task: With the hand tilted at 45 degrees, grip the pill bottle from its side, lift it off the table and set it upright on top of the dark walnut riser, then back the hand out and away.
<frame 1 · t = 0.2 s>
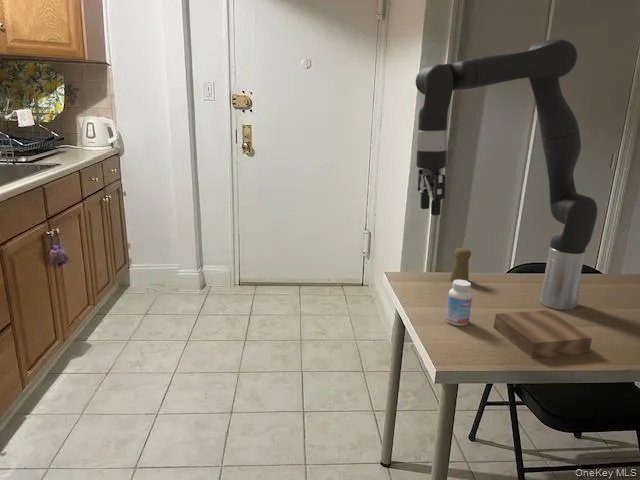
hand: (429, 211, 132), 29 cm above the table, tool pointing down, fingers open, 8 cm apart
walnut riser: (539, 339, 129), on the table
cork: (458, 281, 167), on the table
pill bottle: (456, 322, 137), on the table
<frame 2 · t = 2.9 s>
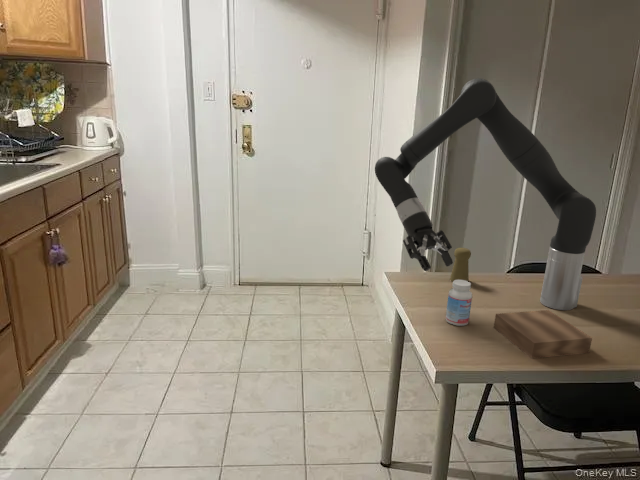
hand: (439, 267, 140), 13 cm above the table, tool tilted 45°, fingers open, 8 cm apart
nothing on the table moved.
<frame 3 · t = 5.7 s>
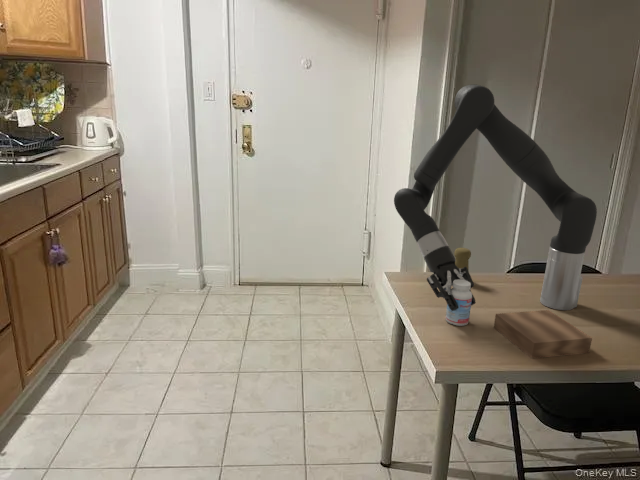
hand: (464, 306, 134), 5 cm above the table, tool tilted 45°, fingers closed on pill bottle, 6 cm apart
pill bottle: (456, 322, 137), on the table, touching gripper
everything else where it was.
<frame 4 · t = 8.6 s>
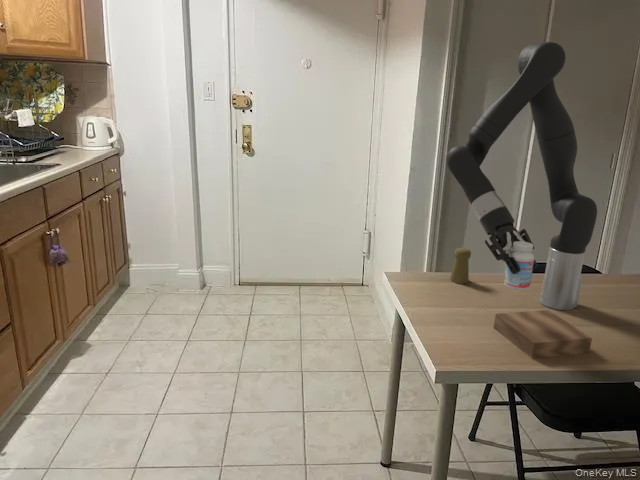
hand: (525, 270, 125), 18 cm above the table, tool tilted 45°, fingers closed on pill bottle, 6 cm apart
pill bottle: (516, 287, 128), point 13 cm above the table, touching gripper
everything else where it was.
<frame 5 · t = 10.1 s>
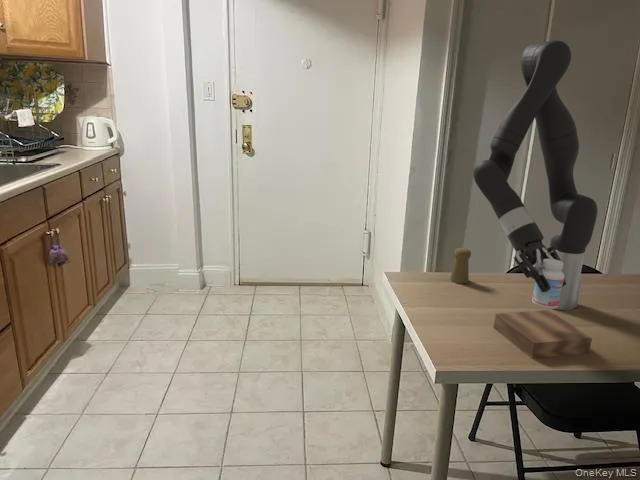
hand: (554, 288, 123), 15 cm above the table, tool tilted 45°, fingers closed on pill bottle, 6 cm apart
pill bottle: (544, 305, 126), point 9 cm above the table, touching gripper
everything else where it was.
when the fingers open (10 cm above the table, at t = 11.5 s): pill bottle drops 1 cm, resting on walnut riser.
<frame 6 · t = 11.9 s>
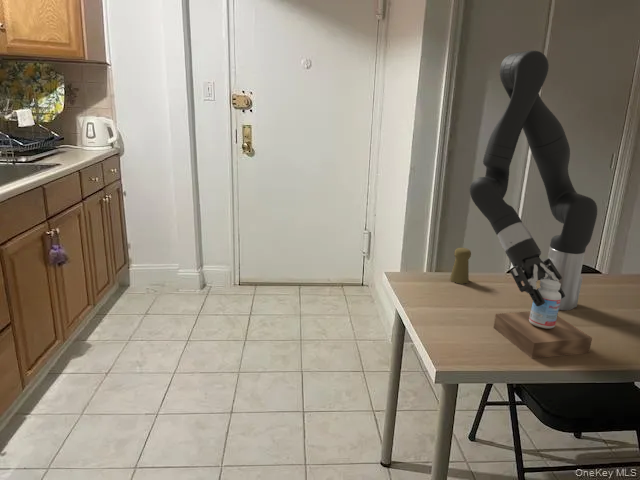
hand: (551, 301, 124), 11 cm above the table, tool tilted 45°, fingers open, 8 cm apart
pill bottle: (541, 325, 128), point 4 cm above the table, touching walnut riser
everything else where it was.
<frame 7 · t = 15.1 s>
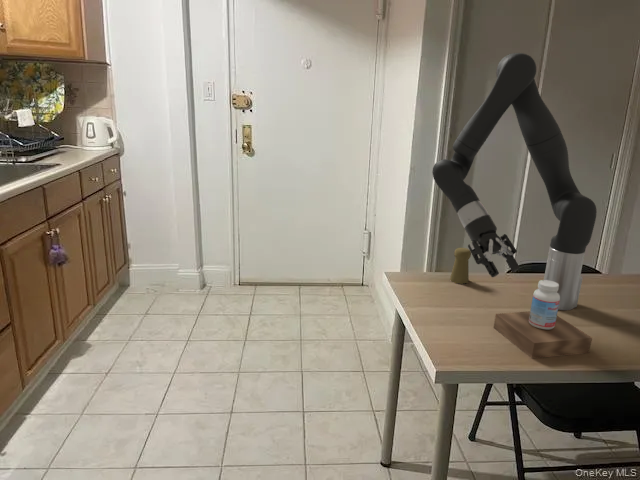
hand: (506, 272, 135), 14 cm above the table, tool tilted 45°, fingers open, 8 cm apart
nothing on the table moved.
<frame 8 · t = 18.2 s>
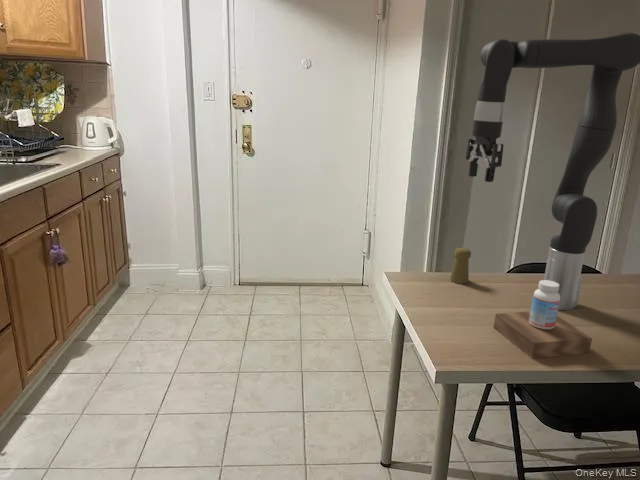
hand: (480, 178, 142), 36 cm above the table, tool pointing down, fingers open, 8 cm apart
nothing on the table moved.
at the end: pill bottle inside the target area on the walnut riser (0.1 cm from its centre), point 3.8 cm above the walnut riser's base; pill bottle tilted 0°; the gripper is holding nothing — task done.
